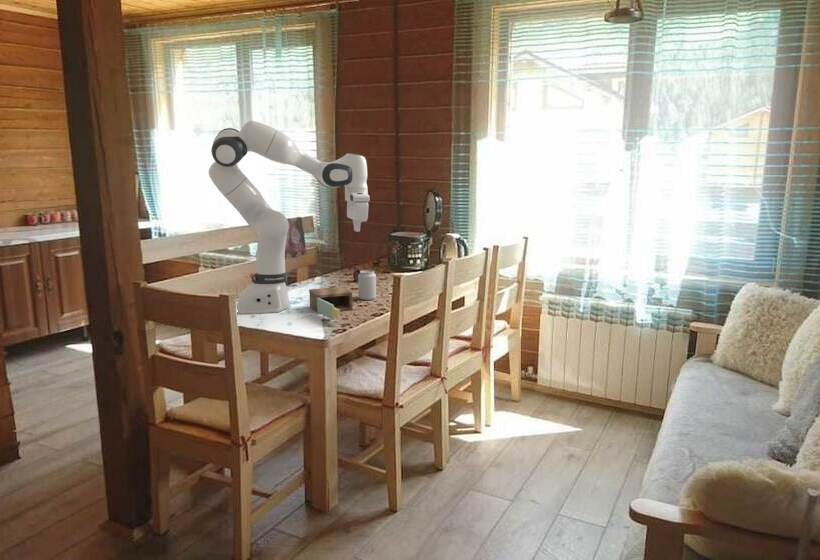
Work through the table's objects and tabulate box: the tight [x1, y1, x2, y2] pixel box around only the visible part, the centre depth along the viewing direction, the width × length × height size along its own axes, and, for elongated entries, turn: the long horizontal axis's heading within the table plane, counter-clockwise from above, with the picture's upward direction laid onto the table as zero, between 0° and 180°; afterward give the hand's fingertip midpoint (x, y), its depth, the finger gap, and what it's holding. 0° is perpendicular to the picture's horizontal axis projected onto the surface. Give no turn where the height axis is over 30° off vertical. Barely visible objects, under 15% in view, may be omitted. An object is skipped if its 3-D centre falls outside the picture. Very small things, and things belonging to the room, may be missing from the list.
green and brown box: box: [308, 286, 353, 314], centre depth 248 cm, size 14×12×7 cm
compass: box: [352, 268, 361, 283], centre depth 298 cm, size 8×8×7 cm
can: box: [357, 270, 377, 301], centre depth 265 cm, size 8×8×12 cm
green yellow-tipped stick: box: [316, 298, 341, 320], centre depth 231 cm, size 19×1×5 cm, turn 30°
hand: (357, 231), depth 246 cm, fingers closed
